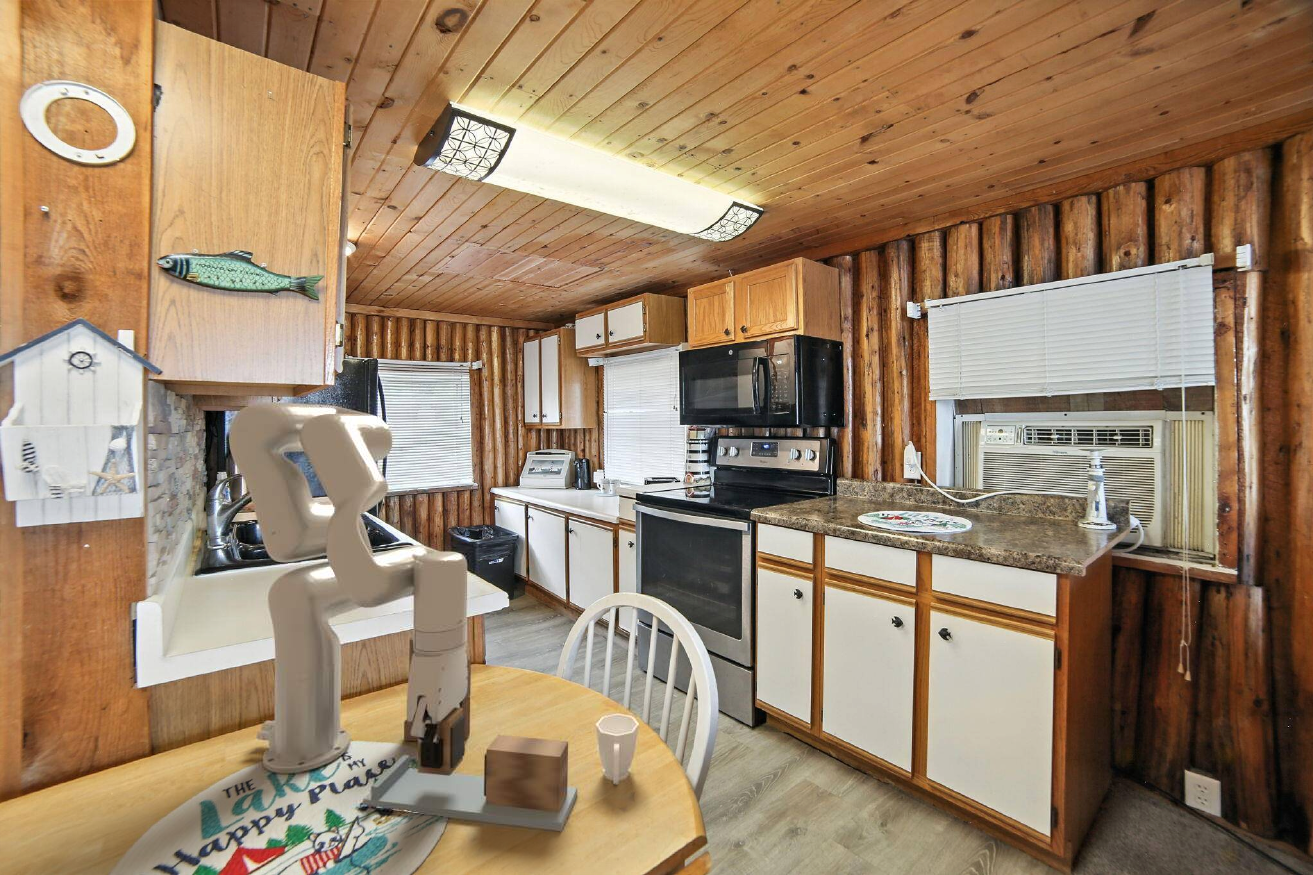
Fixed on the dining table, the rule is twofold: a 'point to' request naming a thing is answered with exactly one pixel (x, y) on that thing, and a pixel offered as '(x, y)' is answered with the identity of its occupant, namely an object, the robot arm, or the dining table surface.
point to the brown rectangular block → (448, 743)
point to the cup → (617, 744)
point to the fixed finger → (526, 773)
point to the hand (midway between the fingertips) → (440, 756)
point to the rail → (456, 798)
